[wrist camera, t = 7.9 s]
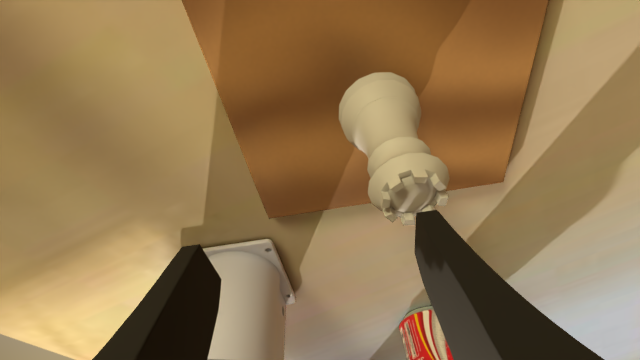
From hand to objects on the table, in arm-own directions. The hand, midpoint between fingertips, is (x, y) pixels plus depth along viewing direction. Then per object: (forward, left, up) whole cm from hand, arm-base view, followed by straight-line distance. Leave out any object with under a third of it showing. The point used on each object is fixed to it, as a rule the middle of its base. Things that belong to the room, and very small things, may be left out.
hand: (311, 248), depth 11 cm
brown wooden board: (0, -4, -10) cm, 11 cm away
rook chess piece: (0, -4, -10) cm, 11 cm away
